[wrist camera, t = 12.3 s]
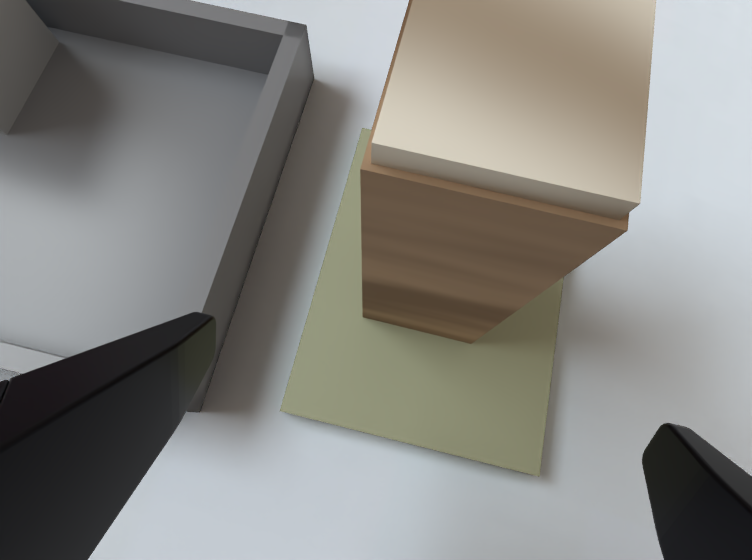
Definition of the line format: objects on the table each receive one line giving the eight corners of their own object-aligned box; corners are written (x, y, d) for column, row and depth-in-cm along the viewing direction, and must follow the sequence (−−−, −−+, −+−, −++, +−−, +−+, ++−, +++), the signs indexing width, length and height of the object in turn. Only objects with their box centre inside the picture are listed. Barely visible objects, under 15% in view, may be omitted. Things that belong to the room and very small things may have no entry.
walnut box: (471, 344, 18) (649, 214, 7) (362, 317, 19) (359, 148, 7) (489, 243, 20) (665, -7, 8) (388, 219, 20) (420, -57, 8)
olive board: (531, 474, 18) (539, 476, 17) (283, 411, 18) (279, 411, 17) (568, 183, 22) (576, 175, 21) (362, 138, 22) (362, 127, 21)
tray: (199, 412, 18) (166, 410, 15) (-295, 286, 19) (-421, 260, 16) (314, 77, 23) (306, 24, 20) (-85, -9, 24) (-150, -72, 21)
